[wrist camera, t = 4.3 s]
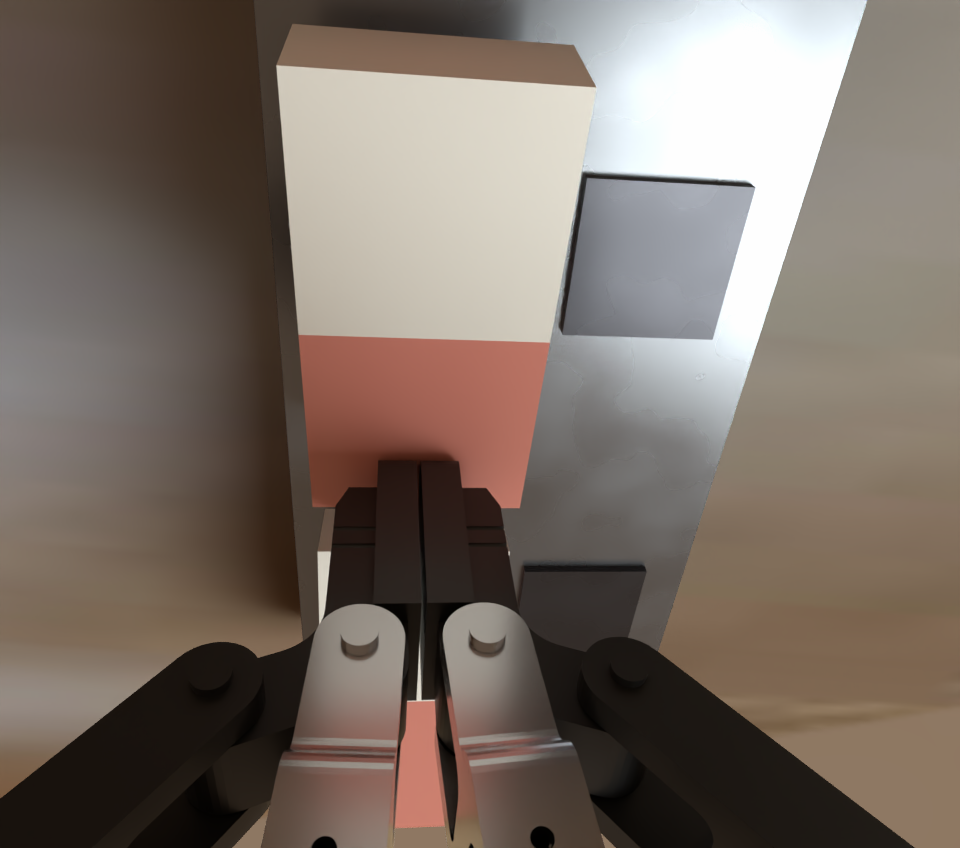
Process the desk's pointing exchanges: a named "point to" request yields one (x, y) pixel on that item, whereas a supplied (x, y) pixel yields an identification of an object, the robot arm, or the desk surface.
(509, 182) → the block
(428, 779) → the rocker
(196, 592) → the desk surface
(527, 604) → the power strip
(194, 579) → the desk surface
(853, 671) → the desk surface
